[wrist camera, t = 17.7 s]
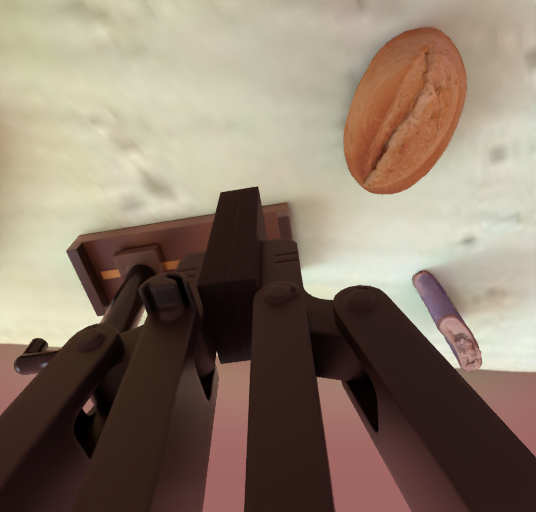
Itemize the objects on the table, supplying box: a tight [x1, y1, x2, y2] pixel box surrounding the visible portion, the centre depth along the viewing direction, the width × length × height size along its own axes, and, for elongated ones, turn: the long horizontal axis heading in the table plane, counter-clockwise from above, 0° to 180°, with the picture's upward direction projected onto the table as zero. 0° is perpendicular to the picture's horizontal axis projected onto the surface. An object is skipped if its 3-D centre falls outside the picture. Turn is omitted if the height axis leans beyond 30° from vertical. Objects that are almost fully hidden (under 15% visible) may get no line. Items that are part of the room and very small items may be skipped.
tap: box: [14, 245, 167, 375], centre depth 40 cm, size 10×8×16 cm
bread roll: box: [344, 28, 467, 194], centre depth 36 cm, size 10×15×8 cm, turn 167°
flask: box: [413, 271, 482, 372], centre depth 46 cm, size 9×3×11 cm, turn 34°
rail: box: [66, 203, 293, 316], centre depth 46 cm, size 24×9×4 cm, turn 100°
